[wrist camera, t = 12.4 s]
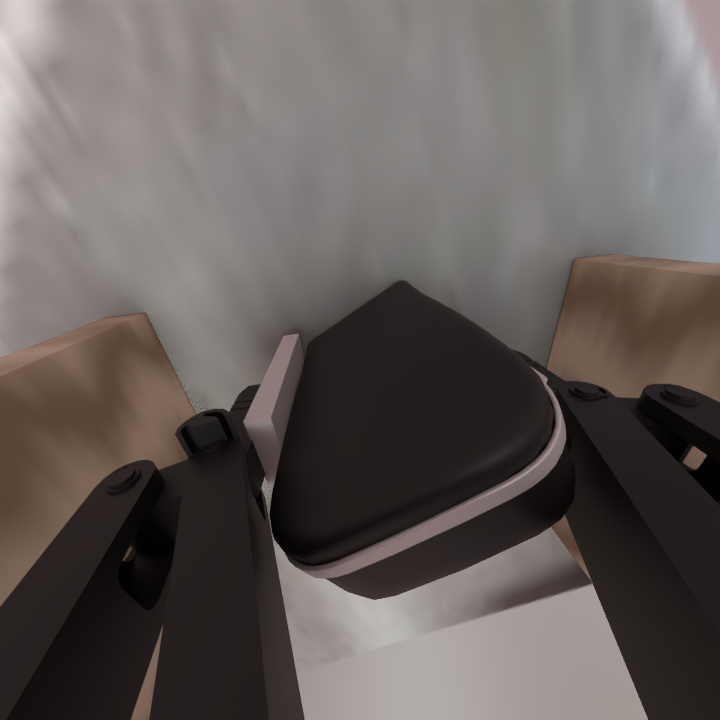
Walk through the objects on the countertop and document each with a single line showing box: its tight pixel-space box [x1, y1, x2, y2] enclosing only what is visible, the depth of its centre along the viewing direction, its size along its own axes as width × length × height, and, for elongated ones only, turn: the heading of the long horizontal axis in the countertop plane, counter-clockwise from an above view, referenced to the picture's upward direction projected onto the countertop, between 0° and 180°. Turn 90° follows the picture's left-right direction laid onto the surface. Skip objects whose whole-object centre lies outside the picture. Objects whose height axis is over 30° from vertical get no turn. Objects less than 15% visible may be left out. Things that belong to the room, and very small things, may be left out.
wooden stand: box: [0, 255, 720, 720], centre depth 12 cm, size 18×27×12 cm, turn 96°
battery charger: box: [270, 281, 576, 600], centre depth 10 cm, size 7×4×11 cm, turn 124°
